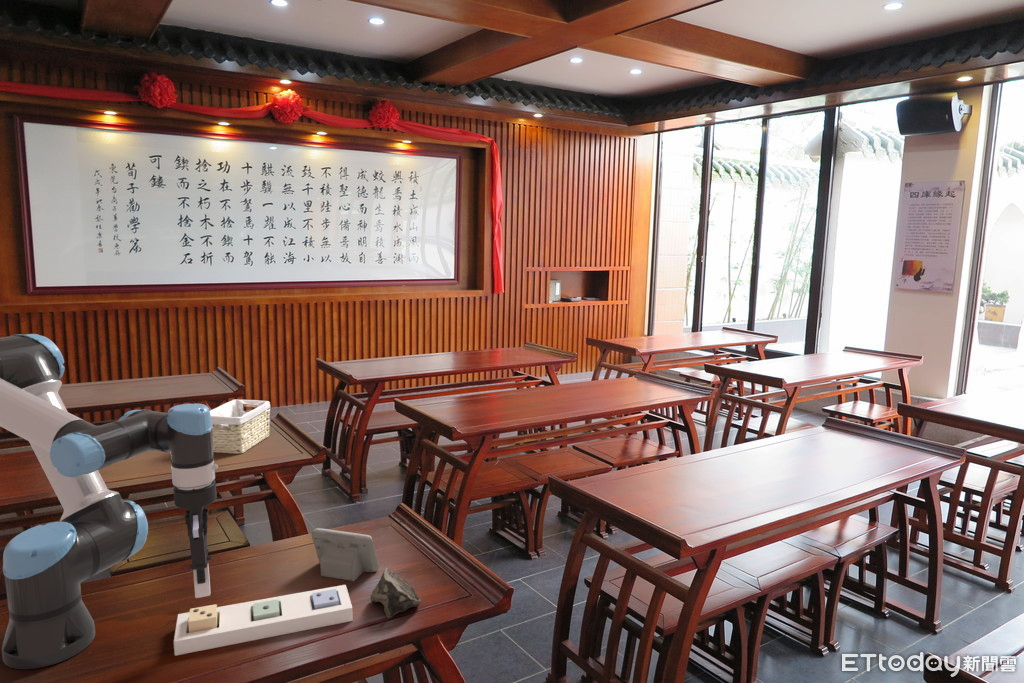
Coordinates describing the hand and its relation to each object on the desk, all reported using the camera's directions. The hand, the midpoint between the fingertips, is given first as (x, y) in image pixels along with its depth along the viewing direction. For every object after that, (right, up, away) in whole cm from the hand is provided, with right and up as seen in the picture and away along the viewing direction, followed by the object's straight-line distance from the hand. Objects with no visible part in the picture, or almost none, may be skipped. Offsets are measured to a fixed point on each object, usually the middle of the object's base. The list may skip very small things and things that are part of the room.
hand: (202, 594), depth 135 cm
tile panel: (+11, -8, +6) cm, 15 cm away
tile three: (0, -7, +1) cm, 8 cm away
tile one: (+11, -8, +6) cm, 15 cm away
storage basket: (-42, +11, +121) cm, 129 cm away
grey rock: (+37, -8, +14) cm, 40 cm away
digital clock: (+22, -5, +29) cm, 36 cm away
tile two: (+22, -8, +10) cm, 25 cm away
